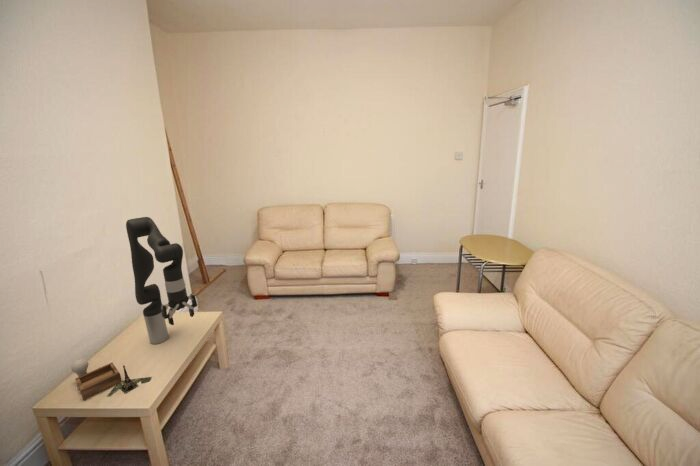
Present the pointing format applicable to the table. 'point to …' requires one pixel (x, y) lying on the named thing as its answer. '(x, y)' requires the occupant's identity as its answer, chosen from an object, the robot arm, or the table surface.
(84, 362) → the lightbulb
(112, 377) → the wooden tray
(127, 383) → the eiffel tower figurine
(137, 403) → the table surface
